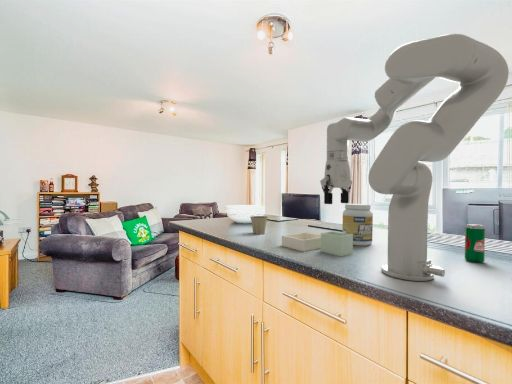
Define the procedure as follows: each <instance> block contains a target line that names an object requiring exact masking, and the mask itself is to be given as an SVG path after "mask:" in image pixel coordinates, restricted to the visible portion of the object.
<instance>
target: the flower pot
mask: <svg viewBox="0 0 512 384" xmlns="http://www.w3.org/2000/svg"><path fill="white" fill-rule="evenodd" d="M249 218H250V221H251V227H252V234H254V235H255V234H256V235H263V234H266V229H267V222H268V218H269V217H268V216H265V215H264V216H263V215H254V216H253V215H252V216H249Z"/></svg>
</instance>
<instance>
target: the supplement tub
mask: <svg viewBox="0 0 512 384" xmlns="http://www.w3.org/2000/svg"><path fill="white" fill-rule="evenodd" d="M344 208H345V209H344V210H343V211H342V232H341V233H346V234H352V235H353V246H358V247H359V246H370V245H371V244H372V242H373V224H374V223H373V222H374V221H373V217H374V216H373V215H374V214H373V211H371V204H369V203H368V204H367V203H344Z"/></svg>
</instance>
